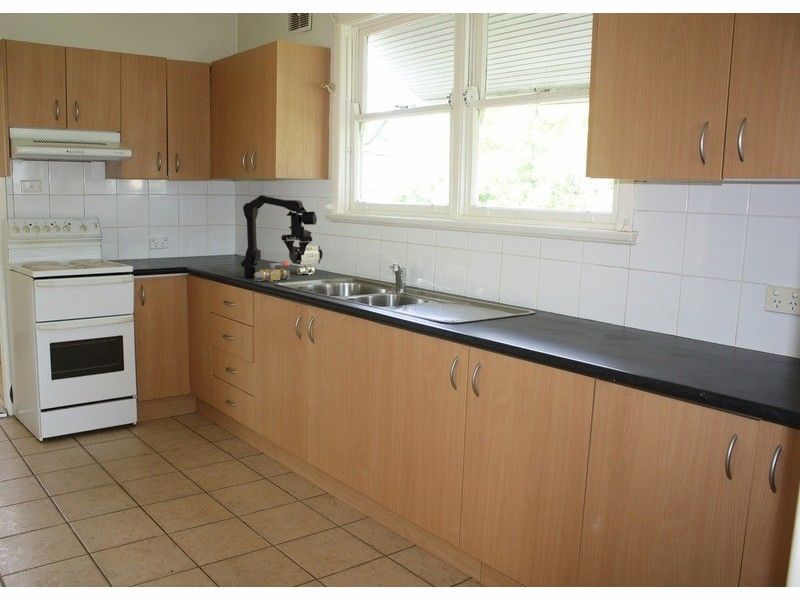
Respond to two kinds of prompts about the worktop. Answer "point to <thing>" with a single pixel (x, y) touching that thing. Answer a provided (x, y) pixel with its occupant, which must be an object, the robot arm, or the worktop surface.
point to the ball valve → (306, 258)
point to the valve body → (271, 274)
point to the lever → (283, 263)
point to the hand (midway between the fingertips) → (297, 254)
